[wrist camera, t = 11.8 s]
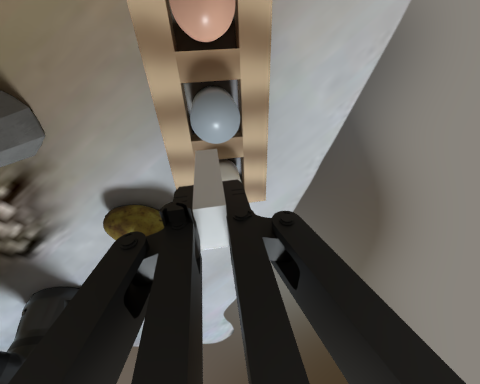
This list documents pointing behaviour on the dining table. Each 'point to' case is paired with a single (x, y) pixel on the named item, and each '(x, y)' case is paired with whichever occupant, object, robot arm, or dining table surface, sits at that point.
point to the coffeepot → (17, 130)
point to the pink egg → (203, 17)
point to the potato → (132, 220)
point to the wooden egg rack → (209, 69)
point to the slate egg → (214, 115)
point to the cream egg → (228, 170)
